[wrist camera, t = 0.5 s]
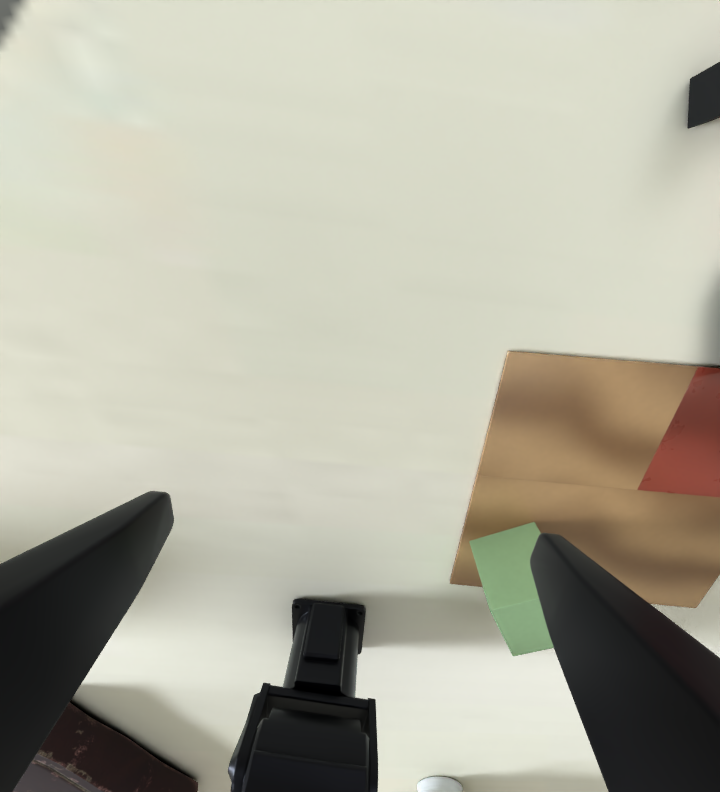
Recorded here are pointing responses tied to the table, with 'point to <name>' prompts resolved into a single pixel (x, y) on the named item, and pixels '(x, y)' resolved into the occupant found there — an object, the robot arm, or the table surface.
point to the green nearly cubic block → (512, 587)
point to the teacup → (439, 785)
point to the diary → (97, 762)
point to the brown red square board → (606, 469)
